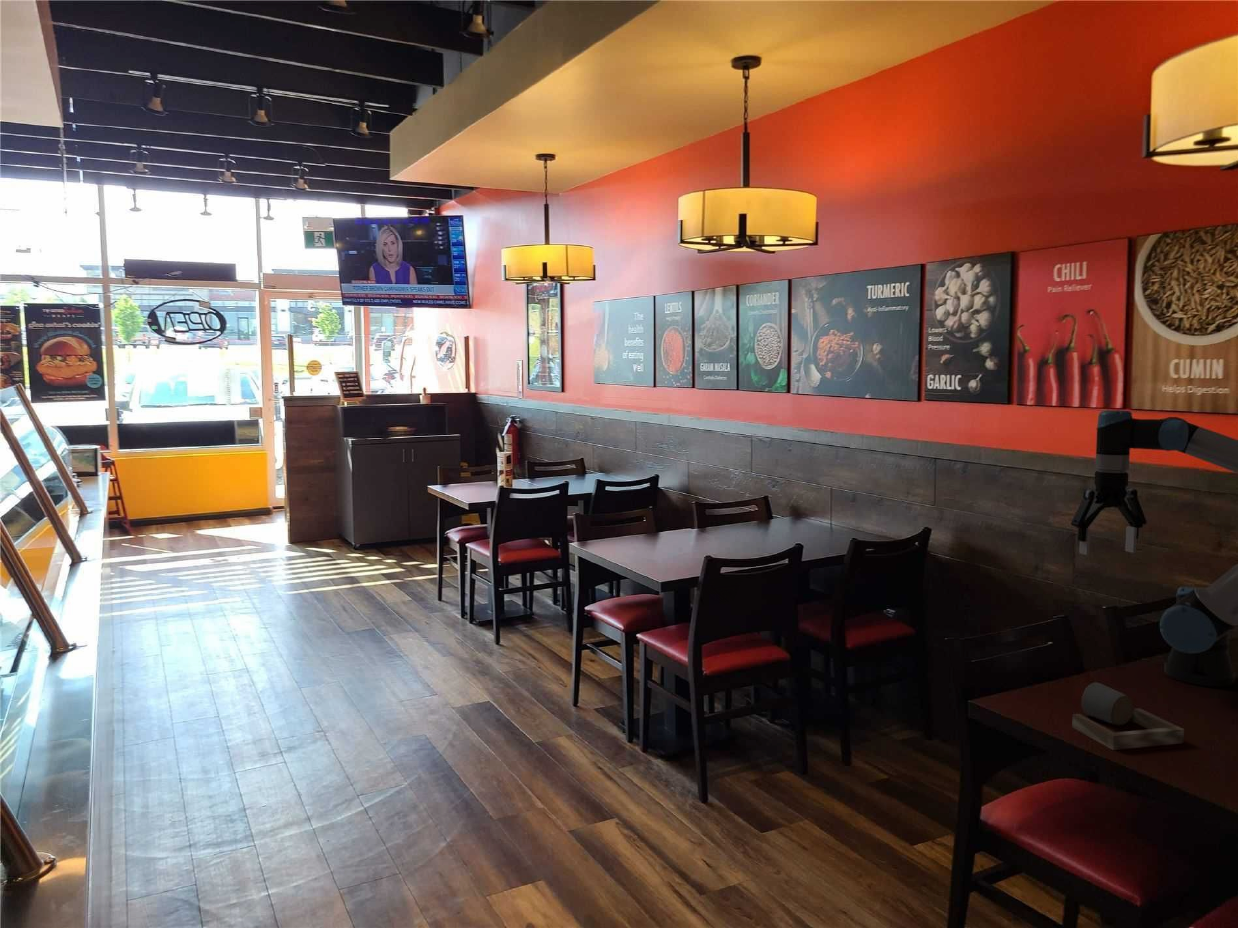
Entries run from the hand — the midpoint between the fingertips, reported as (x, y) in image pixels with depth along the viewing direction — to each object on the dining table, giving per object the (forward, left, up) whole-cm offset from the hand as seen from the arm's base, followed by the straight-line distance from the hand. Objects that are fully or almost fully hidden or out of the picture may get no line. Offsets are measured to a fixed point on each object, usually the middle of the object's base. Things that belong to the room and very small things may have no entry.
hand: (1107, 553), depth 225 cm
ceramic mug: (+21, +28, -32) cm, 47 cm away
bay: (+24, +36, -32) cm, 54 cm away
